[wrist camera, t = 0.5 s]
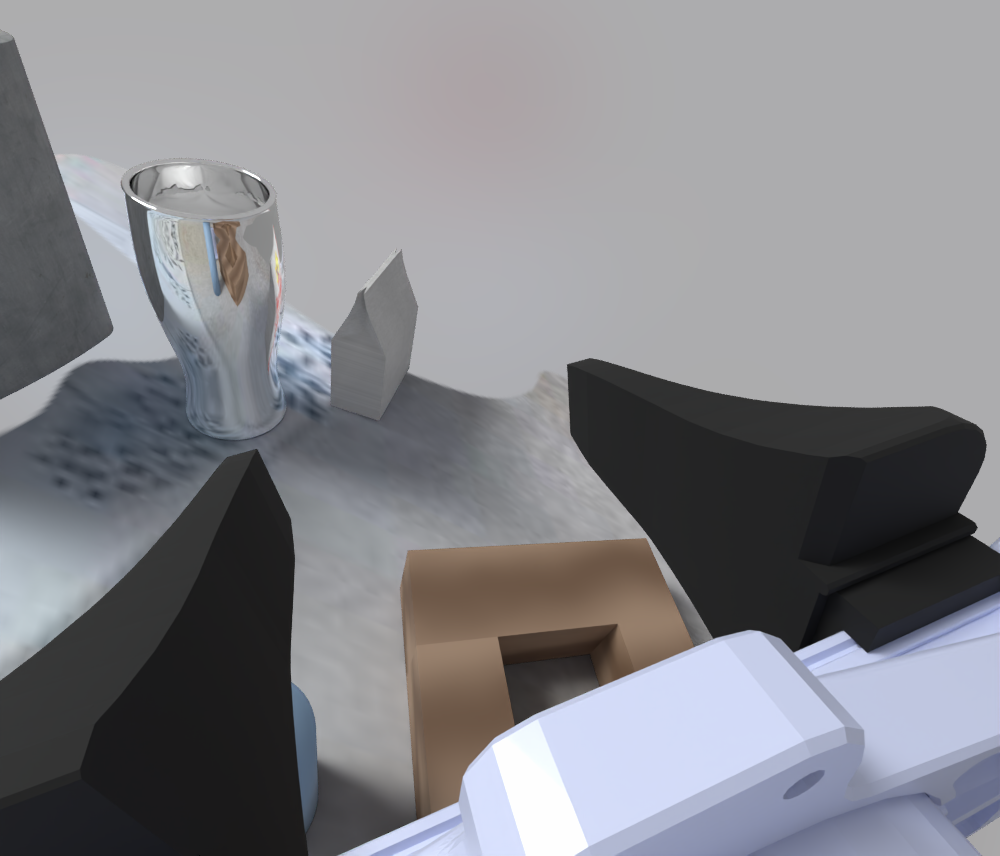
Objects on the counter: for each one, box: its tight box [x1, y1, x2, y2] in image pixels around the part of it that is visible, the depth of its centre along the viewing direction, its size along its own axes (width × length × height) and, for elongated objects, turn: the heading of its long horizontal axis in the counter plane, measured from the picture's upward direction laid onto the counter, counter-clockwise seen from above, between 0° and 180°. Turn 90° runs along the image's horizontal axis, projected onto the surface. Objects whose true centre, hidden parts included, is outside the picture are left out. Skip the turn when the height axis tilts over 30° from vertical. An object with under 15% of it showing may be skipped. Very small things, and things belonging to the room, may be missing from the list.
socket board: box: [400, 538, 694, 820], centre depth 24 cm, size 16×14×4 cm
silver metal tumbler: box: [121, 158, 286, 440], centre depth 30 cm, size 7×7×15 cm
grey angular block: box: [331, 249, 418, 421], centre depth 36 cm, size 4×7×10 cm, turn 168°
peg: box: [291, 682, 318, 833], centre depth 18 cm, size 4×4×9 cm
